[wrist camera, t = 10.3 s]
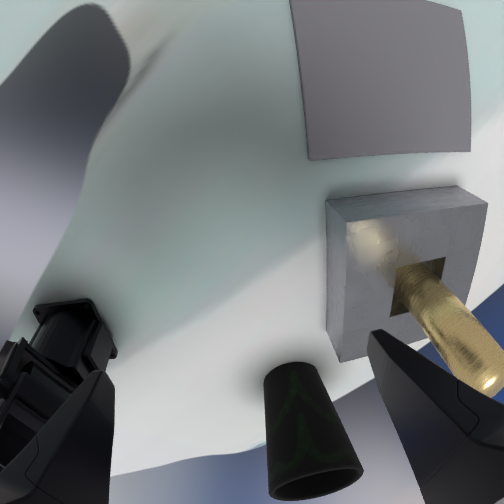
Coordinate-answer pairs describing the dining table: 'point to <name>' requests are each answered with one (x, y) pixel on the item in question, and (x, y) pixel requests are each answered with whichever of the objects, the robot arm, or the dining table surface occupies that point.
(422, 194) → the grey square hole block
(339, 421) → the cup
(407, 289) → the pin
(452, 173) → the dining table surface
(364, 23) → the mat
